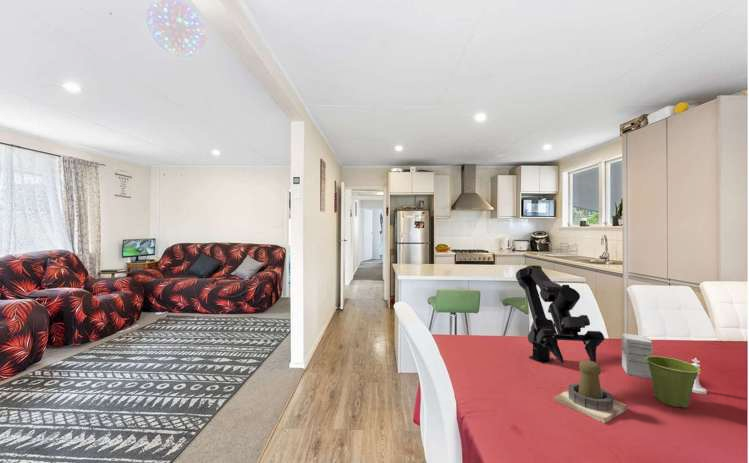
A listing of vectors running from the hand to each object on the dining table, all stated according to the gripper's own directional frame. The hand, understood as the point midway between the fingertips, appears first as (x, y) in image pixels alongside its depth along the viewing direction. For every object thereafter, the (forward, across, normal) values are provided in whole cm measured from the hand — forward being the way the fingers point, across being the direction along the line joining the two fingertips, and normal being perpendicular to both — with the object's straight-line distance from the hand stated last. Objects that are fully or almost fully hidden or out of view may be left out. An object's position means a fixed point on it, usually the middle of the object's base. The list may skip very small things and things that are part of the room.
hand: (578, 363), depth 98 cm
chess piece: (+1, +38, +12) cm, 40 cm away
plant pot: (+8, +25, +6) cm, 27 cm away
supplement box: (-7, +29, +20) cm, 36 cm away
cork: (+10, 0, +1) cm, 10 cm away
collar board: (+11, 0, +2) cm, 11 cm away
